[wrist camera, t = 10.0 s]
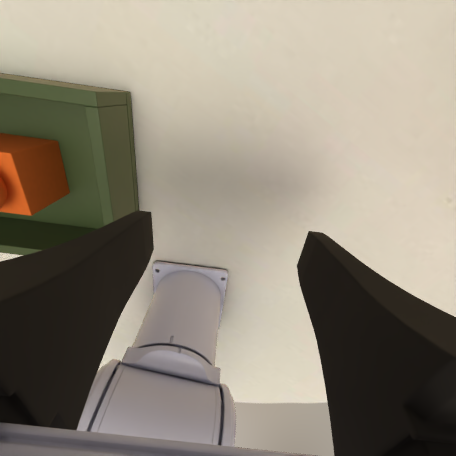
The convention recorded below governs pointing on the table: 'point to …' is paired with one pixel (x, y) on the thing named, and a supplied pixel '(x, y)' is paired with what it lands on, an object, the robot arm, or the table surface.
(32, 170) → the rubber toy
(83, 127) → the bin
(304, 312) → the table surface
